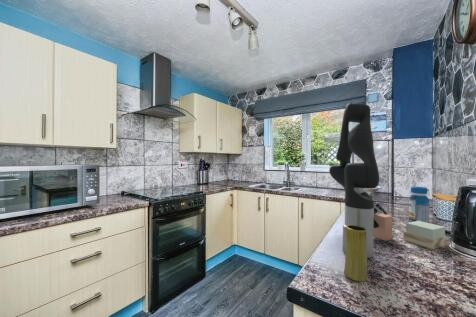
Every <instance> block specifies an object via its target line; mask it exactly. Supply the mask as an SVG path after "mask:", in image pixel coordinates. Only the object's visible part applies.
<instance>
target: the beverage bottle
mask: <svg viewBox="0 0 476 317" xmlns="http://www.w3.org/2000/svg"><path fill="white" fill-rule="evenodd" d="M410 193H411V195H409V198H408V200H409V202H408V207H409V208H408V218H409V219H408V223H409V222H414V221H422V222H426V223H430V198H429V197H428V196H427V195H428V188H427V187H424V186H411V187H410Z"/></svg>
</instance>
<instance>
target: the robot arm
mask: <svg viewBox="0 0 476 317" xmlns="http://www.w3.org/2000/svg"><path fill="white" fill-rule="evenodd" d="M350 123H355V124H357V125H355V126H354V127H352V128H351V130H350V129H349V128H350V126H349V125H350ZM374 146H375V145H374V138H373V132H372V126H371V107H370V106H369V105H368V104H365V103H356V102H355V103H353V102H349V103H347V104H346V106H345V108H344V112H343V117H342V122H341V130H340V138H339V144H338V147H337V152H336V155H335V159H336V160H337V161H339V164H333V165H331V166H330V167H329V174H330V177H332V179H334V180H335V181H336V182H337V183H338V184H339V185H340V186H342V187H343V189H344V225H343V226H342V251H343V252H344V253H346V226H347V225H357V226H361V227H364V228H365V229H366V247H367V259H371V258H373V257H374V237H373V236H374V228H377V227H379V225H378V223H377V222H376V221H375V220H374V214H380V213H381V214H385V215H388V212H387V211H386V210H385V209H384V208H383V207H382V206H381V205H380V203H377V204H375V202H374V200H373V198H372V197H371V196H370V194H369V193H368V192H367V191H366V189H375V188H377V187H378V186H379V183H380V172H379V168H378V163H377V160H376V155H375V148H374ZM353 154H354V155H355V156H356V157H357V158H359V159H360V160H361V161H362V162H351V158H352V155H353Z"/></svg>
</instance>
